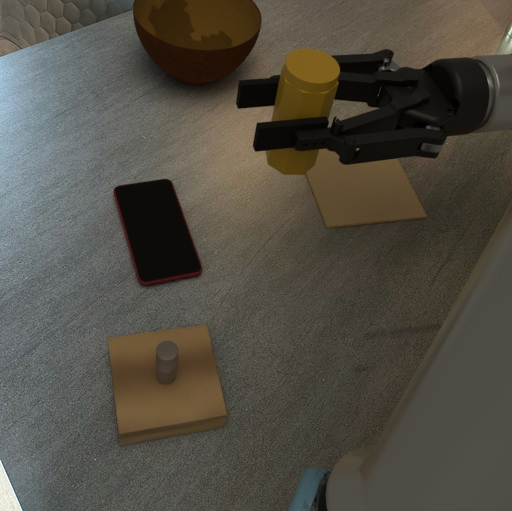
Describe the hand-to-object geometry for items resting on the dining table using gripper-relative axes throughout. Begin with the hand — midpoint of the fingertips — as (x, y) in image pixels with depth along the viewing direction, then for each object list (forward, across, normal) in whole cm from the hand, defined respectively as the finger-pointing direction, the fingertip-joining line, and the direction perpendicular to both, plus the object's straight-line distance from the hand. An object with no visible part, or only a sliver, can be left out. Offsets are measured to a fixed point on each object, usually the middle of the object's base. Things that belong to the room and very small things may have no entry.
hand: (247, 115), depth 56 cm
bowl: (-4, +35, -22) cm, 41 cm away
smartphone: (+7, +5, -22) cm, 23 cm away
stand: (+10, -15, -22) cm, 28 cm away
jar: (-5, 0, -6) cm, 8 cm away
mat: (-21, +9, -22) cm, 32 cm away
